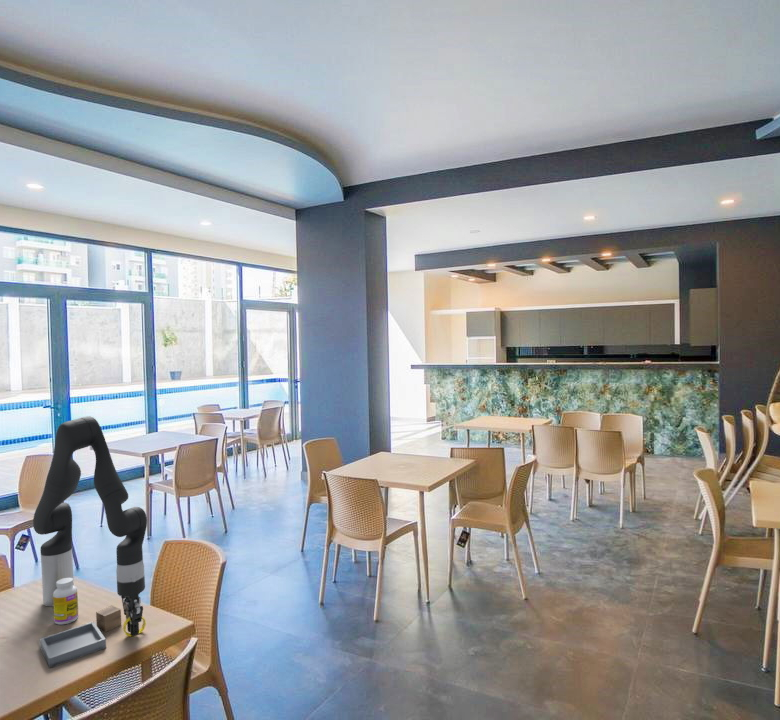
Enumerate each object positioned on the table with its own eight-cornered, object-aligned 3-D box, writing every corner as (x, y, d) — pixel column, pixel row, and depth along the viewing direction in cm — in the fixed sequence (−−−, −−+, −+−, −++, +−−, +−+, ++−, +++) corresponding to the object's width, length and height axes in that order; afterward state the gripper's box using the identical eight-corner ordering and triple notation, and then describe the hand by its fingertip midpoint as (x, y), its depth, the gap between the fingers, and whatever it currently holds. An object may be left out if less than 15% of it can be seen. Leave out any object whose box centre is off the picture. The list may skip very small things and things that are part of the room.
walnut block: (96, 628, 168) (96, 612, 168) (112, 620, 173) (111, 605, 172) (105, 632, 166) (104, 616, 166) (121, 625, 170) (120, 609, 170)
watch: (125, 640, 161) (123, 621, 161) (123, 636, 163) (121, 617, 163) (147, 631, 165) (144, 613, 164) (144, 628, 167) (142, 609, 166)
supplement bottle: (67, 626, 170) (65, 585, 170) (49, 624, 171) (47, 584, 171) (83, 615, 176) (81, 576, 176) (65, 614, 178) (63, 575, 177)
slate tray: (40, 647, 158) (40, 638, 158) (94, 629, 167) (93, 621, 167) (49, 668, 148) (49, 658, 147) (106, 647, 157) (105, 639, 157)
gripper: (110, 572, 166) (113, 628, 166) (124, 587, 155) (126, 647, 156) (136, 565, 171) (139, 620, 171) (151, 579, 160) (154, 637, 161)
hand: (133, 632), depth 164 cm, fingers closed on watch, 2 cm apart
